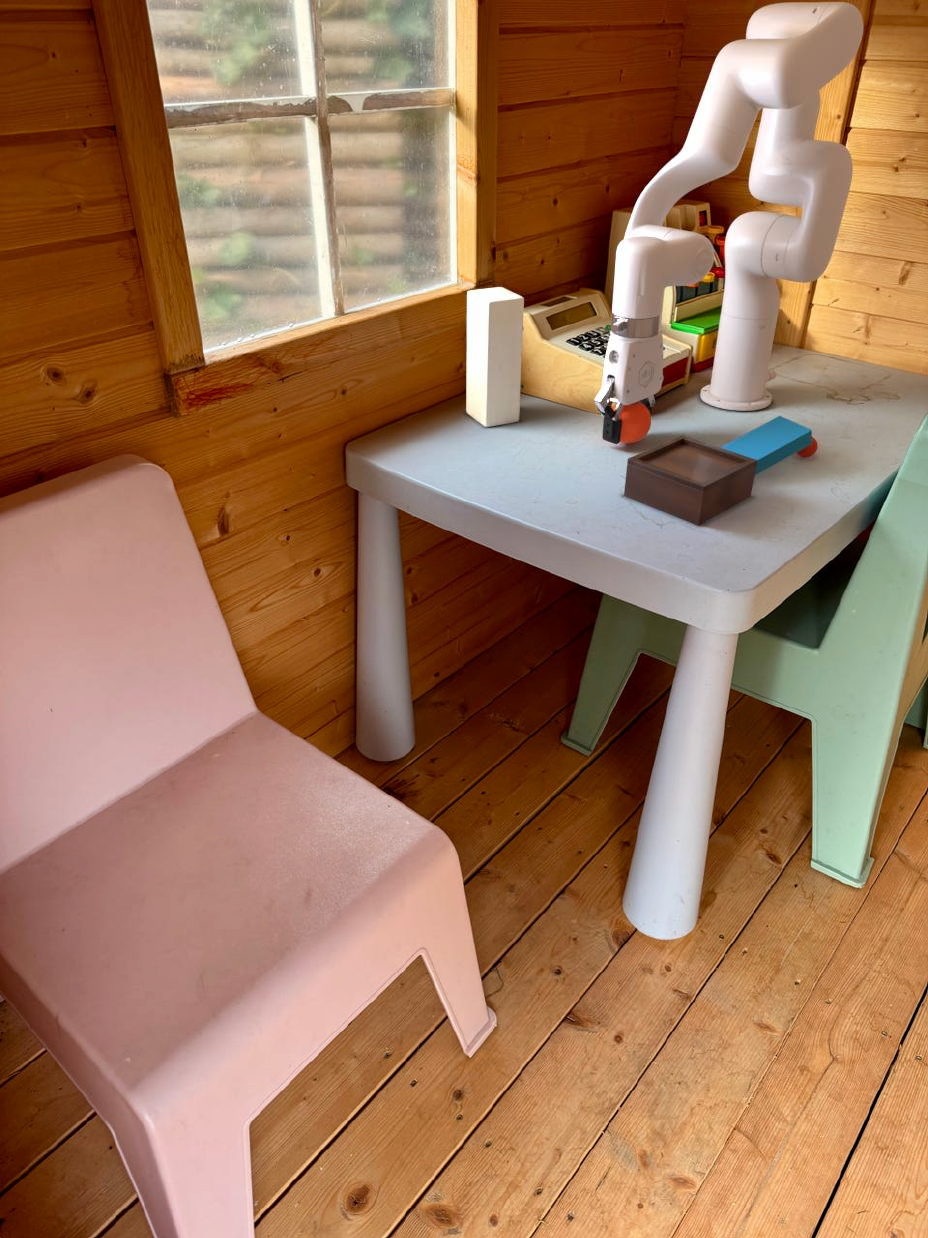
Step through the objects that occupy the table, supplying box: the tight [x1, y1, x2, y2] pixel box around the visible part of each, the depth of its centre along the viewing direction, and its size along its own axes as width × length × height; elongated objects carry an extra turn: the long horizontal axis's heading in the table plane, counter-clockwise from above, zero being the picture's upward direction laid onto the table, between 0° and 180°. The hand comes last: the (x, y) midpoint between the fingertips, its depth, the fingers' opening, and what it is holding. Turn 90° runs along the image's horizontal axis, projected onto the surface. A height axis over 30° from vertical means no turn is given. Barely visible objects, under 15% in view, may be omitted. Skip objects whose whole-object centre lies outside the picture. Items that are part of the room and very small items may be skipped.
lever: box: [720, 415, 819, 476], centre depth 140 cm, size 7×7×18 cm
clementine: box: [612, 401, 652, 444], centre depth 147 cm, size 8×7×7 cm
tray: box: [623, 434, 758, 526], centre depth 131 cm, size 13×13×6 cm
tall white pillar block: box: [465, 286, 525, 428], centre depth 153 cm, size 8×7×21 cm
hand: (626, 433), depth 148 cm, fingers closed on clementine, 7 cm apart
